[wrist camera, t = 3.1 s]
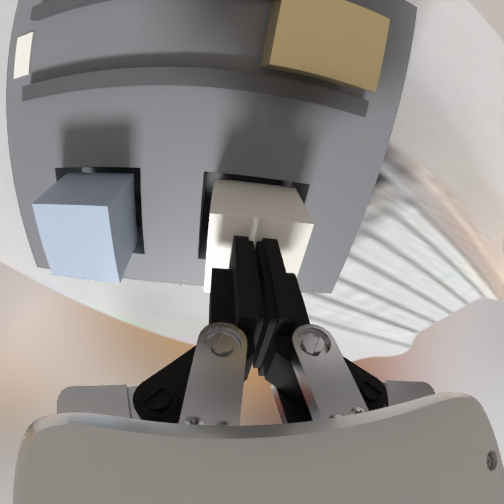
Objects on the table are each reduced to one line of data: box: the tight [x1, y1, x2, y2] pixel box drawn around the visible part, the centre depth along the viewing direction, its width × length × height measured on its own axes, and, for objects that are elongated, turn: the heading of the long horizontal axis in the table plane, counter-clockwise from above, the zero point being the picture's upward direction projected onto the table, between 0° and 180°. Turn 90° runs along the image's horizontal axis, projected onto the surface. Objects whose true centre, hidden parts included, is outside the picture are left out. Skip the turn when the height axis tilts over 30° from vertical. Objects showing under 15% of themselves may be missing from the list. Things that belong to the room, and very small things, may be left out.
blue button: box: [32, 173, 138, 284], centre depth 12 cm, size 4×4×4 cm
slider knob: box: [260, 0, 390, 93], centre depth 7 cm, size 4×3×3 cm
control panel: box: [6, 0, 417, 293], centre depth 11 cm, size 20×18×4 cm
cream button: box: [204, 179, 314, 292], centre depth 13 cm, size 4×4×4 cm
